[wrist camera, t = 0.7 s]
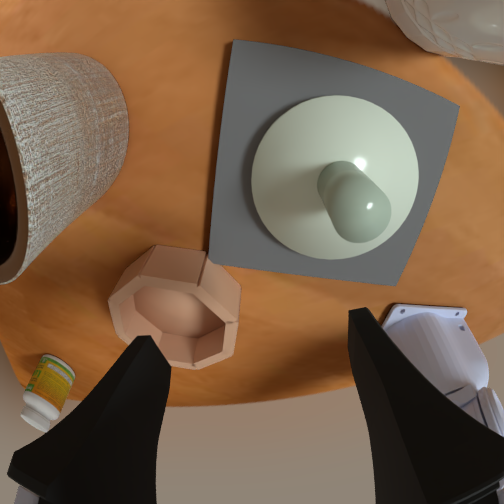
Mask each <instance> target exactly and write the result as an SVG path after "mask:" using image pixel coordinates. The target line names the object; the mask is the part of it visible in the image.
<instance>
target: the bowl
mask: <svg viewBox="0 0 504 504" xmlns="http://www.w3.org/2000/svg"><path fill="white" fill-rule="evenodd" d="M208 255H209V253H208V254H206V251H199V250H192V249H185V248H178V247H170V246H163V245H156V246H155V245H154V246H153V247H151V248H150V249H149V250H148V251H147V252H145V253H144V254H143V255H142V256H140V257H139V258H138V259H137V260H136V261H134V262H133V263H132V264H131V265H130V266H128V267H127V268H126V269H125V271H124V272H123V274H122V276H121V278H120V279H119V281H118V283H117V284H116V286H115V288H114V290H113V291H112V293H111V295H110V297H109V298H108V304H109V308H110V312H111V316H112V320H113V324H114V328H115V332H116V334H118V337H119V338H121V339H122V340H123V341H124V342H126V343H127V344H128V345H130V343H131V342H132V341H133V340H134V339H135V338H136V337H137V336H141V335H151V337H152V338H153V340H154V341H155V343H156V345H157V346H158V348H159V349H160V351H161V352H162V354H163V355H164V357H165V358H166V360H167V361H168V363H169V364H170V366H175V367H181V368H187V369H193V370H196V369H198V370H199V369H201V368H204V367H206V366H209V365H211V364H214V363H216V362H219V361H221V360H224V359H226V358H229V357H231V356H232V355H233V353H234V347H235V341H236V335H237V329H238V323H239V311H240V299H241V286H240V285H239V284H238V282H237V281H236V280H235V279H234V278H233V277H232V276H231V275H230V274H229V273H228V272H227V271H226V270H225V269H224V268H223V267H222V266H221V265H219V264H213V263H212V262H211V261H210V260H209V259H208Z"/></svg>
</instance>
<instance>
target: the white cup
mask: <svg viewBox="0 0 504 504" xmlns="http://www.w3.org/2000/svg"><path fill="white" fill-rule="evenodd" d="M385 2H386V4H387V7H388V10H389V13H390V15H391V18H392V19H393V20H394V21H395V23H396V24H397V25H398V26H399V28H400V29H401V30H402V32H403V33H404V34H405V36H406V37H407V38H409V39H410V40H411V41H413V42H414V43H416V44H417V45H419V46H420V47H421V48H423V49H424V50H425V51H427V52H431V53H435V54H439V55H443V56H448V57H461V58H465V59H470V60H476V61H483V62H488V63H493V64H499V65H504V0H385Z"/></svg>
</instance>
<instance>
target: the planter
mask: <svg viewBox="0 0 504 504" xmlns="http://www.w3.org/2000/svg"><path fill="white" fill-rule="evenodd" d="M128 141H129V117H128V110H127V105H126V102H125V98H124V95H123V93H122V90H121V88H120V86H119V84H118V82H117V81H116V79H115V78H114V76H113V75H112V74H111V73H110V71H109V70H108V69H107V68H106V67H105V66H104V65H102V64H101V63H100V62H98V61H96V60H95V59H93V58H90V57H88V56H85V55H81V54H77V53H38V54H25V55H15V56H6V57H0V285H2V284H7V283H10V282H12V281H14V280H15V279H16V278H17V277H19V276H20V275H21V273H22V272H23V271H24V270H25V269H26V268H27V267H28V266H29V265H30V264H31V262H32V261H33V260H34V259H35V258H36V257H37V256H38V255H39V254H40V253H41V252H42V251H43V250H44V249H45V248H46V247H47V246H48V245H49V244H50V243H51V242H52V241H53V240H54V239H55V238H56V237H57V236H58V235H59V234H60V233H61V232H62V231H63V230H64V229H65V228H66V227H67V226H69V225H70V224H71V223H72V222H73V221H74V220H75V219H76V218H78V217H79V216H80V215H81V214H82V213H83V212H84V211H86V210H87V209H88V208H89V207H90V206H91V205H92V204H94V203H95V202H96V201H97V200H98V199H99V198H100V197H102V196H103V195H104V194H105V193H106V191H107V190H108V189H109V188H110V186H111V185H112V184H113V182H114V181H115V179H116V177H117V176H118V174H119V172H120V170H121V168H122V165H123V163H124V159H125V156H126V152H127V147H128Z"/></svg>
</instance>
